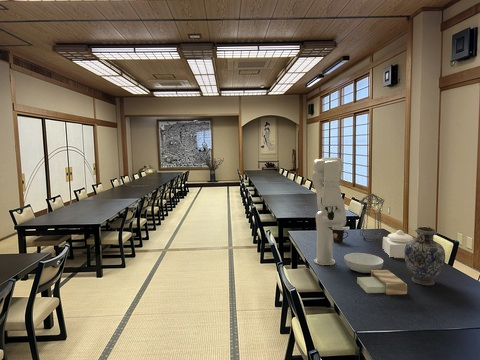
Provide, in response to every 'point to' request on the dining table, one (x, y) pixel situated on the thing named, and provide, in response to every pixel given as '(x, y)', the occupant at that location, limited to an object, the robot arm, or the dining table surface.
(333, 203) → the robot arm
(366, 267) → the serving bowl
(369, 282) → the pale green flat slab
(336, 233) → the coffee mug
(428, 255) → the decorative vase
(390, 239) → the butter dish
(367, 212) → the geometric lantern
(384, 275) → the overhang
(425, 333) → the dining table surface
